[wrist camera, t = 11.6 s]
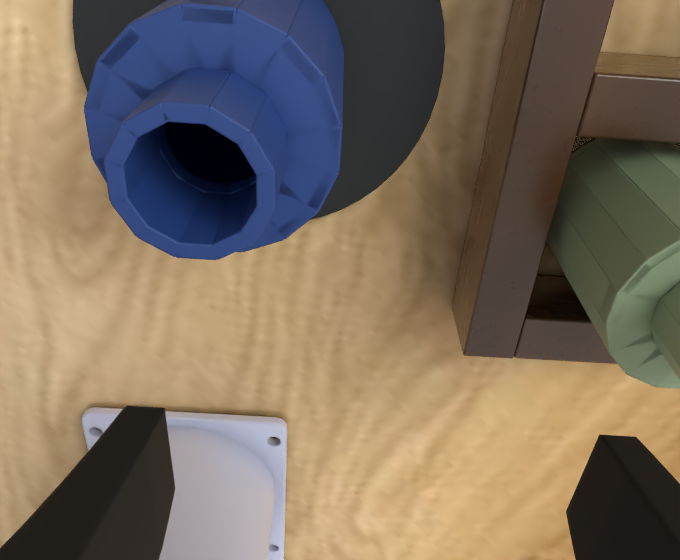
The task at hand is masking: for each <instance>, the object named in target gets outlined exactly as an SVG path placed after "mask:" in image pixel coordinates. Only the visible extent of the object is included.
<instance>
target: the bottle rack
mask: <svg viewBox="0 0 680 560" xmlns="http://www.w3.org/2000/svg"><path fill="white" fill-rule="evenodd" d="M613 3H614V0H514V1H513V6H512V11H511V16H510V21H509V26H508V31H507V36H506V41H505V46H504V51H503V56H502V61H501V66H500V71H499V76H498V81H497V86H496V91H495V96H494V101H493V106H492V110H491V115H490V120H489V125H488V130H487V135H486V140H485V145H484V150H483V155H482V160H481V165H480V170H479V175H478V180H477V185H476V190H475V195H474V200H473V205H472V210H471V215H470V220H469V225H468V230H467V235H466V240H465V245H464V250H463V255H462V260H461V265H460V270H459V275H458V280H457V285H456V290H455V295H454V300H453V305H452V311H453V315H454V319H455V323H456V327H457V331H458V335H459V339H460V343H461V347H462V351H463V355H465V356H481V357H499V358H513V357H515V358H525V359H542V360H559V361H577V362H594V363H611V364H618V363H617V362H616V361H615V360H614V358H613V357H612V356H611V355H610V354H609V352H608V350H607V348H606V346H605V345H604V343H603V341H602V339H601V338H600V336H599V334H598V332H597V331H596V329H595V327H594V325H593V323H592V322H591V320H590V318H589V316H588V315H587V313H586V311H585V309H584V308H583V306H582V304H581V302H580V300H579V299H578V297H577V295H576V293H575V292H574V290H573V288H572V286H571V285H570V283H569V281H568V279H567V277H555V276H538V275H537V272H538V269H539V265H540V262H541V258H542V255H543V251H544V247H545V244H546V240H547V237H548V233H549V230H550V226H551V223H552V219H553V216H554V212H555V209H556V205H557V201H558V198H559V194H560V191H561V187H562V184H563V180H564V177H565V173H566V170H567V166H568V163H569V159H570V155H571V152H572V148H573V145H574V141H575V138H576V136H578V137H586V138H601V139H616V140H631V141H646V142H660V143H675V144H680V58H675V57H661V56H646V55H632V54H618V53H604V52H600V49H601V46H602V42H603V39H604V35H605V32H606V28H607V25H608V21H609V18H610V14H611V10H612V7H613Z"/></svg>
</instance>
